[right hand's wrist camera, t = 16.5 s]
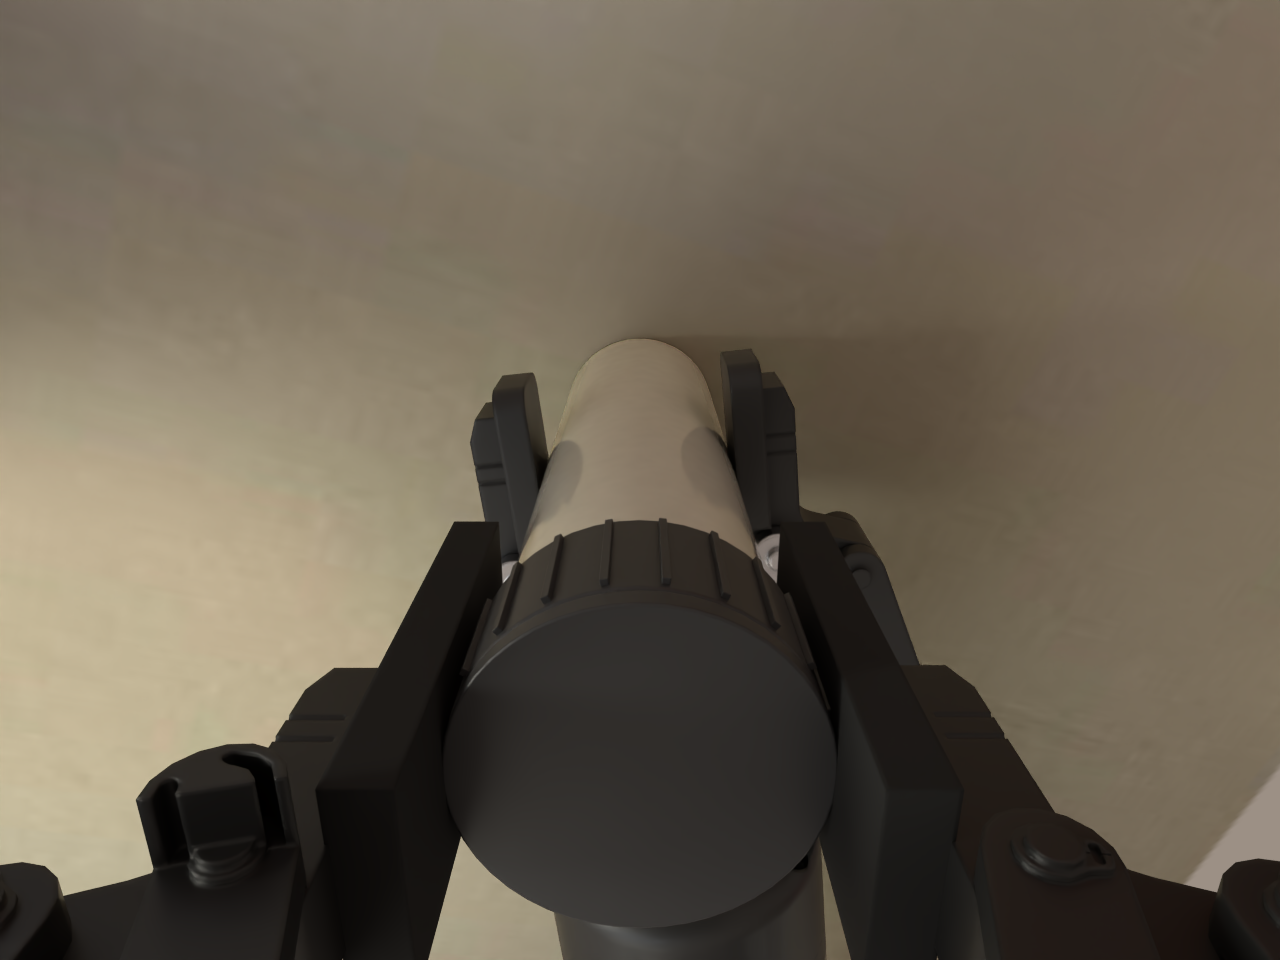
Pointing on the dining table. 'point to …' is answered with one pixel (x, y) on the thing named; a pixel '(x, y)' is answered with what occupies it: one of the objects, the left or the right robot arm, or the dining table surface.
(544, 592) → the lid
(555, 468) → the jar
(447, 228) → the dining table surface
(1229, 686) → the dining table surface
